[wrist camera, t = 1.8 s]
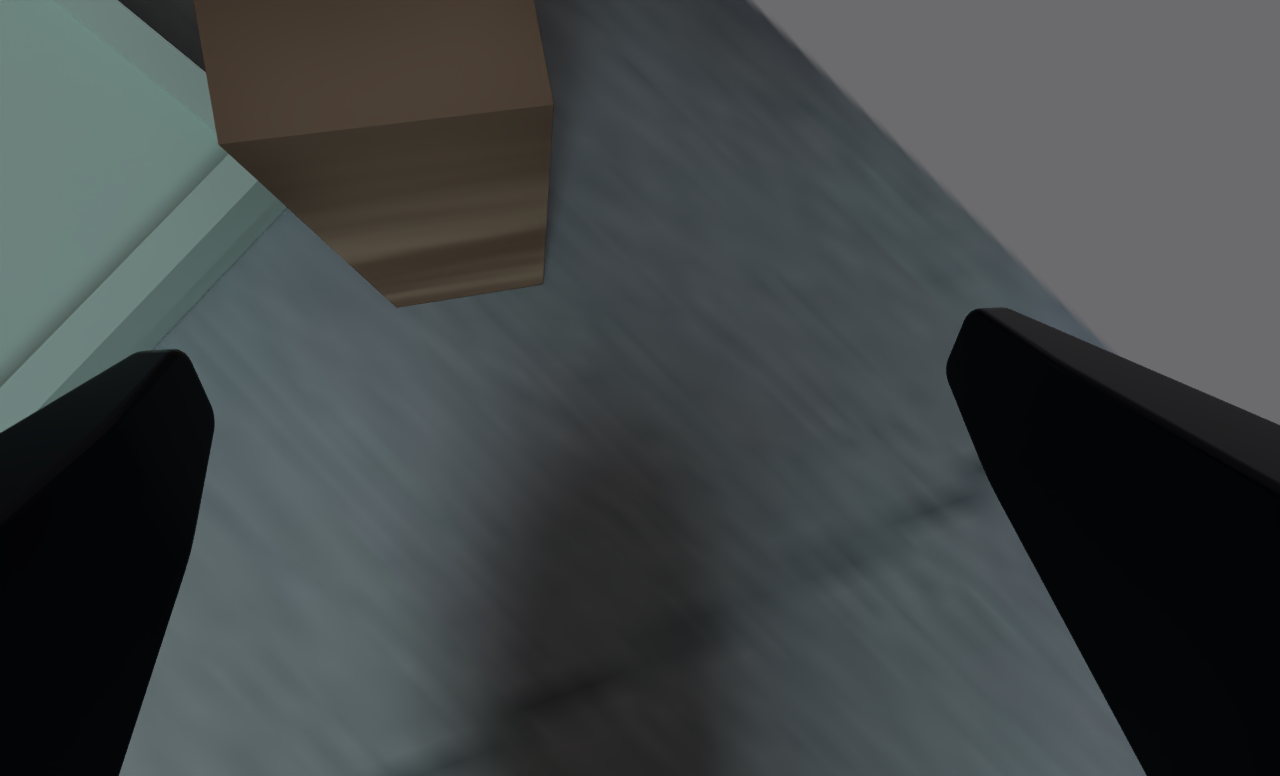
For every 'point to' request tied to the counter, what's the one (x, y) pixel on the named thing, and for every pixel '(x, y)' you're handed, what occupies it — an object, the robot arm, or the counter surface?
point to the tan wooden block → (394, 132)
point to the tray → (105, 195)
